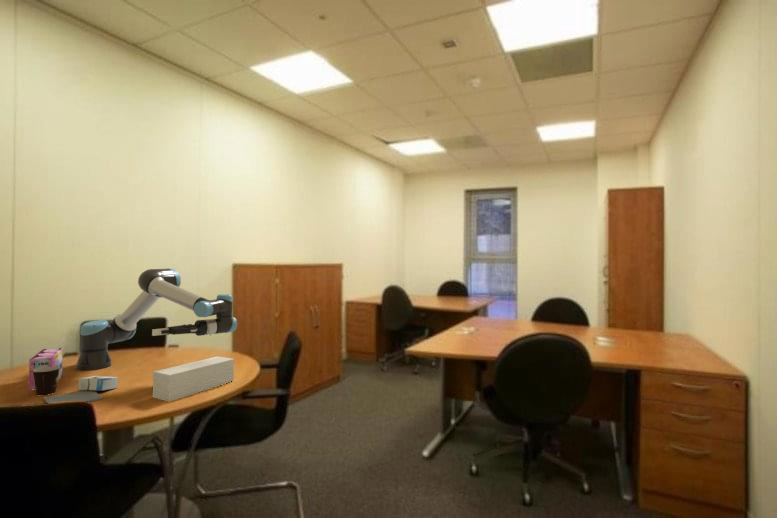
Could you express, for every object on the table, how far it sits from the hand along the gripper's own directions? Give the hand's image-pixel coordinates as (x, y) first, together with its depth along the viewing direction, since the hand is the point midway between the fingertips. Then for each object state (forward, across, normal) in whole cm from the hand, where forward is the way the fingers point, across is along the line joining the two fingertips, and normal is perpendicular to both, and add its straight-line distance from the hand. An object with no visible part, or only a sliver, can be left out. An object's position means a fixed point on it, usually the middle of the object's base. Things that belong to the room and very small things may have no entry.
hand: (152, 332), depth 189 cm
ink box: (+15, +2, -20) cm, 26 cm away
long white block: (-11, -21, -23) cm, 33 cm away
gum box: (+32, +36, -24) cm, 54 cm away
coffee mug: (+36, +16, -24) cm, 46 cm away
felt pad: (+29, 0, -24) cm, 37 cm away
